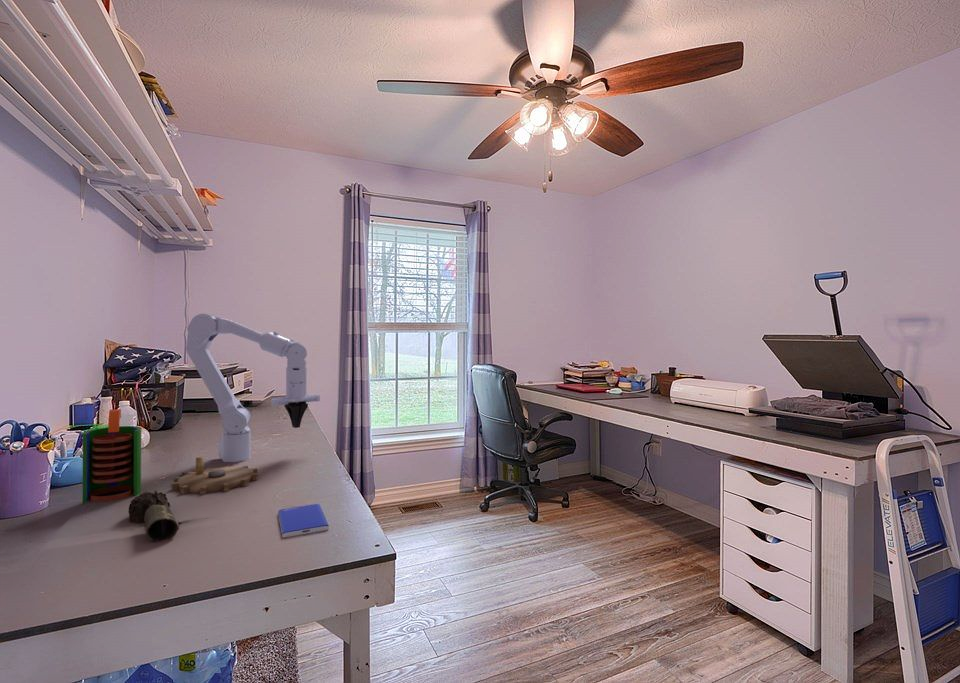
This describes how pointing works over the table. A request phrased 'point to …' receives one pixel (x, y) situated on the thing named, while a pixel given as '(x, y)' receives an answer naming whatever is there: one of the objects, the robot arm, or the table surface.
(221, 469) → the sprocket
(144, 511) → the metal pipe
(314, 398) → the robot arm
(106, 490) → the motor
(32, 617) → the table surface
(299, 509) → the hard drive
